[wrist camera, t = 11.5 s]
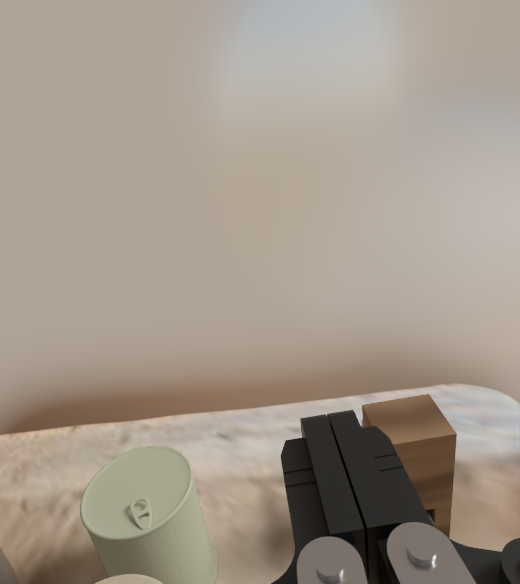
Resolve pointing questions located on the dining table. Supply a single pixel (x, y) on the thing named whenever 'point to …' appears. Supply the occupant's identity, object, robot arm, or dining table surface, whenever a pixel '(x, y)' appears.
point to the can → (149, 518)
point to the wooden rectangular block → (420, 449)
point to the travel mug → (129, 579)
